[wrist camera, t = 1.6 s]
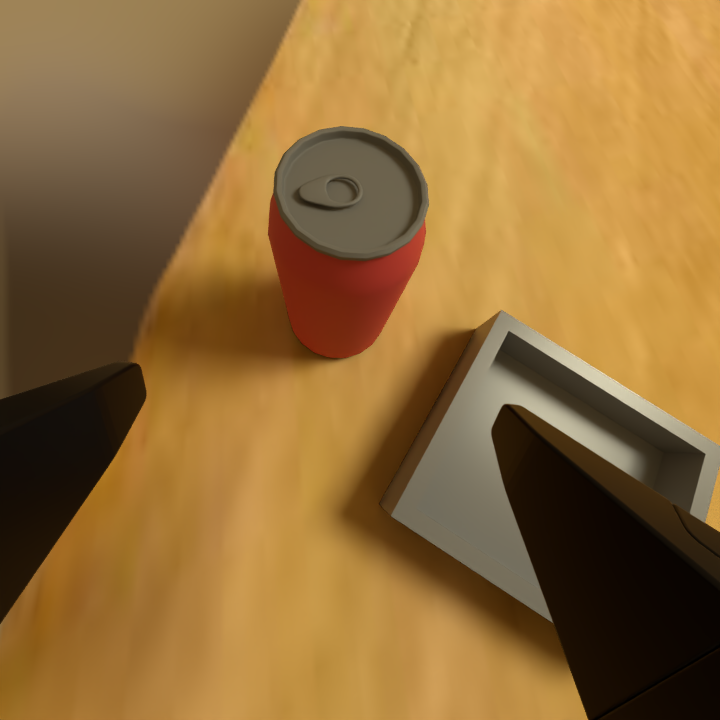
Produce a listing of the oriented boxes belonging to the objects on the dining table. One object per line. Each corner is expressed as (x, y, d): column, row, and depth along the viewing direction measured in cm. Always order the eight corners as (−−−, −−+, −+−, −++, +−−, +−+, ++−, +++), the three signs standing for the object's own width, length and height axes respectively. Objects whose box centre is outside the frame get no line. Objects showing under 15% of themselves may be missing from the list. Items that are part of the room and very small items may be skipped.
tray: (602, 651, 20) (661, 694, 16) (378, 504, 20) (390, 515, 17) (666, 447, 23) (723, 448, 20) (476, 328, 24) (501, 309, 21)
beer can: (284, 278, 23) (248, 114, 12) (373, 269, 24) (422, 111, 13) (295, 366, 22) (267, 280, 10) (390, 353, 23) (463, 261, 11)
